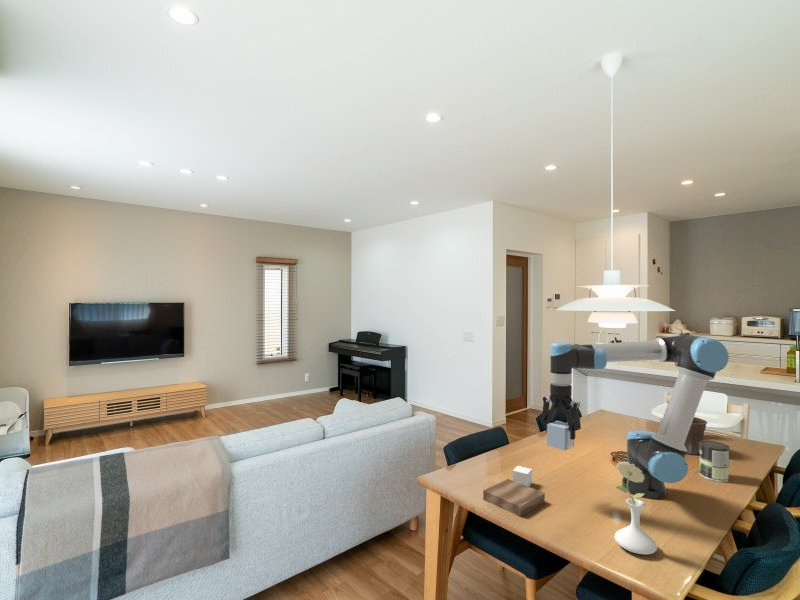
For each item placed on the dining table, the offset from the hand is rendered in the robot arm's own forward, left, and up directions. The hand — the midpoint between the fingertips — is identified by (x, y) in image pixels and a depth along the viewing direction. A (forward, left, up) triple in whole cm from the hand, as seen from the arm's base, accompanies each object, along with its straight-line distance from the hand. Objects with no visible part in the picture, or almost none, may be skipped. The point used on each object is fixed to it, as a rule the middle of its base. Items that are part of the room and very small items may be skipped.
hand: (560, 444), depth 155 cm
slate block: (0, 0, 0) cm, 0 cm away
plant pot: (-15, -99, -21) cm, 102 cm away
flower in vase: (-29, +10, -21) cm, 37 cm away
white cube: (+17, -1, -21) cm, 27 cm away
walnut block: (+11, +14, -22) cm, 28 cm away
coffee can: (-32, -71, -21) cm, 81 cm away
